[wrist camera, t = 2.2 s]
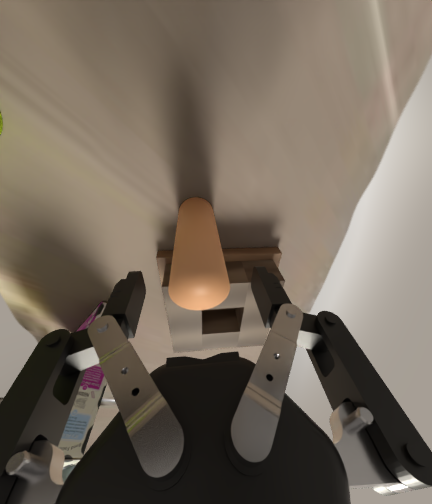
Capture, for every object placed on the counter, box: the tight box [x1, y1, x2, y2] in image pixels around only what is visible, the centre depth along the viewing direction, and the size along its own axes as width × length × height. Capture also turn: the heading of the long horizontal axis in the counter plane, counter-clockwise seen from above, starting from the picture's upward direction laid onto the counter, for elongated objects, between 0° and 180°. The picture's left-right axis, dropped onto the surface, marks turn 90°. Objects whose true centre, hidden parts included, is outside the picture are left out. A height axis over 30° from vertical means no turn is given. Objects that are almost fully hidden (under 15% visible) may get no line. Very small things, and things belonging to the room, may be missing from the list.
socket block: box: [156, 247, 285, 353], centre depth 28 cm, size 16×16×6 cm
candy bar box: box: [58, 302, 107, 469], centre depth 25 cm, size 11×5×16 cm, turn 137°
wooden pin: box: [168, 197, 230, 310], centre depth 17 cm, size 4×4×12 cm
